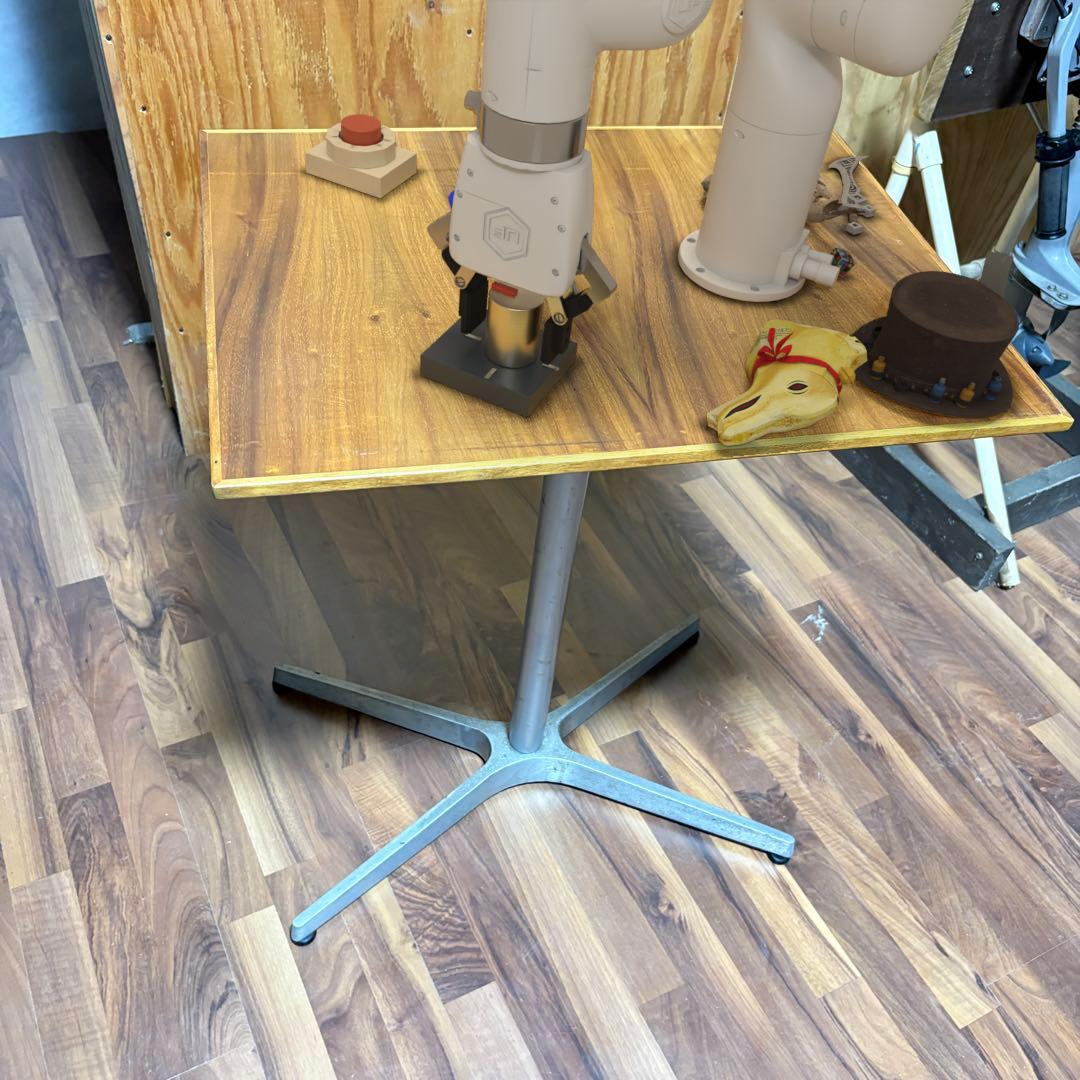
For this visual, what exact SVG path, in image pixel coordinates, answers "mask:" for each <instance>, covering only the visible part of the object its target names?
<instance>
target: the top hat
mask: <svg viewBox="0 0 1080 1080" xmlns="http://www.w3.org/2000/svg"><path fill="white" fill-rule="evenodd" d="M1013 260H1014V256H1013V255H1009V254H1006V255H1005V254H1003V253H999V252H996V251H991V250H987V253H986V256H985V260H984V263H983V266H982V270H981V274H980V280H977V279H975V278H971V277H969V276H965V275H962V274H959V273H953V272H948V271H940V270H939V271H938V270H927V271H925V270H924V271H918V272H914V273H910V274H908V275H905V276H904V277H902V278H901V279H899V280H898V281H897V282H896V283H895V284H894V286H893V287H892V290H891V294H890V297H889V298H890V299H889V302H888V307H887V311H886V315H885V316H881V317H878V318H875V319H872V320H870V321H869V322H866V323H865V324H862V325H861V326H860V327H859V328H857V329H856V330H855V331H853V333H852V334H851V335H852V336H855V337H856V338H857V339H858V340H859V341H860V342H861V343H862V344H863V345H864V346H865V348H866V351H867V361H866V362H865V363H863V364H862V365H861V366H859V367H858V368H857V369H856V370H855V371H854V373H855V375H856V376H855V380H856V381H857V382H859V383H860V384H861V385H862V386H864V387H865V388H867V389H869V390H870V391H872V392H874V393H875V394H877V395H879V396H881V397H884V398H886V399H888V400H890V401H892V402H895V403H898V404H901V405H903V406H907V407H909V408H912V409H916V410H919V411H923V412H927V413H930V414H934V415H939V416H945V417H952V418H960V419H986V418H992V417H995V416H997V415H1001V414H1002V413H1004V412H1006V411H1007V410H1008V409H1009V408H1010V405H1011V403H1012V401H1013V399H1014V388H1013V384H1012V380H1011V379H1012V378H1011V377H1010V375H1009V372H1008V370H1007V368H1006V366H1005V365H1004V363H1003V362H1002V360H1001V357H1002V356H1003V354H1004V353H1005V351H1006V350H1007V348H1008V347H1009V345H1010V344H1011V342H1012V341H1013V339H1014V338H1015V336H1016V335H1017V333H1018V332H1019V329H1020V320H1019V317H1018V314H1017V312H1016V311H1015V309H1014V307H1013V305H1012V304H1011V303H1010V302H1009V301H1008V300H1007V299H1006V298H1005V295H1006V288H1007V283H1008V278H1009V275H1010V271H1011V267H1012V264H1013Z"/></svg>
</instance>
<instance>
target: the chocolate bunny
mask: <svg viewBox="0 0 1080 1080" xmlns="http://www.w3.org/2000/svg"><path fill="white" fill-rule="evenodd" d="M866 361H867V351H866V348H865V346H864V345H863V344H862V343H861V342H860V341H859V340H858V339H857V338H856V337H855V336H852V334H849V333H845V332H844V331H843V332H842V331H838V330H835V329H830V328H826V327H821V326H814V325H808V324H802V323H798V322H795V321H790V320H784V319H782V318H781V319H779V318H778V319H770V320H769V321H768V322H767V323H766V324H765V325H764V326H763V328H762V329H761V331H760V333H759V334H758V335H757V337H756V339H755V341H754V343H753V344H752V346H751V349H750V350H749V352H748V355H747V357H746V360H745V369H746V374H747V376H748V377H749V379H750V387H749V388H748V390H747V391H744V392H743V393H741V394H740V395H737V396H736V397H734V398H732V399H731V400H730V399H729V400H728V401H725V403H723V404H720V405H719V406H717V407H714V408H713V409H711V410H709V411H708V412H707V413H706V420H707V421H706V422H707V426H708V427H709V428H711V429H713V430H714V431H716V432H717V438H718V441H719V442H720V443H721V444H722V445H724V446H727V447H730V446H731V447H732V446H736V445H737V446H740V445H744V444H747V443H750V442H752V441H754V440H756V439H759V438H761V437H763V436H766V435H768V434H770V433H772V434H773V433H787V432H790V431H796V430H799V429H804V428H807V427H810V426H812V425H815V424H816V423H818V422H820V421H822V420H823V419H825V418H826V417H828V416H829V415H832V414H833V413H834V412H835V411H836V410H837V408H838V406H839V404H840V398H839V397H840V396H839V395H840V394H841V392H842V390H843V389H844V388H845V387H846V386H847V385H850V384H851V385H853V384H854V381H855V380H856V379H855V376H856V375H855V373H854V371H855V370H856V369H857V368H858V367H859V366H861V365H862V364H863V363H865V362H866Z"/></svg>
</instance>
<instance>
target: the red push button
mask: <svg viewBox="0 0 1080 1080" xmlns="http://www.w3.org/2000/svg"><path fill="white" fill-rule="evenodd" d="M340 123H341V139H342V141H343V142H345V143H348V144H351V145H354V146H370V145H376V144H378V143H380V142H381V125H382V123H381V120H380V119H378V118H377V117H375V116H372V115H368V114H360V113H359V114H350V115H347V116H345V117H343V118H342V119H341V121H340Z"/></svg>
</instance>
